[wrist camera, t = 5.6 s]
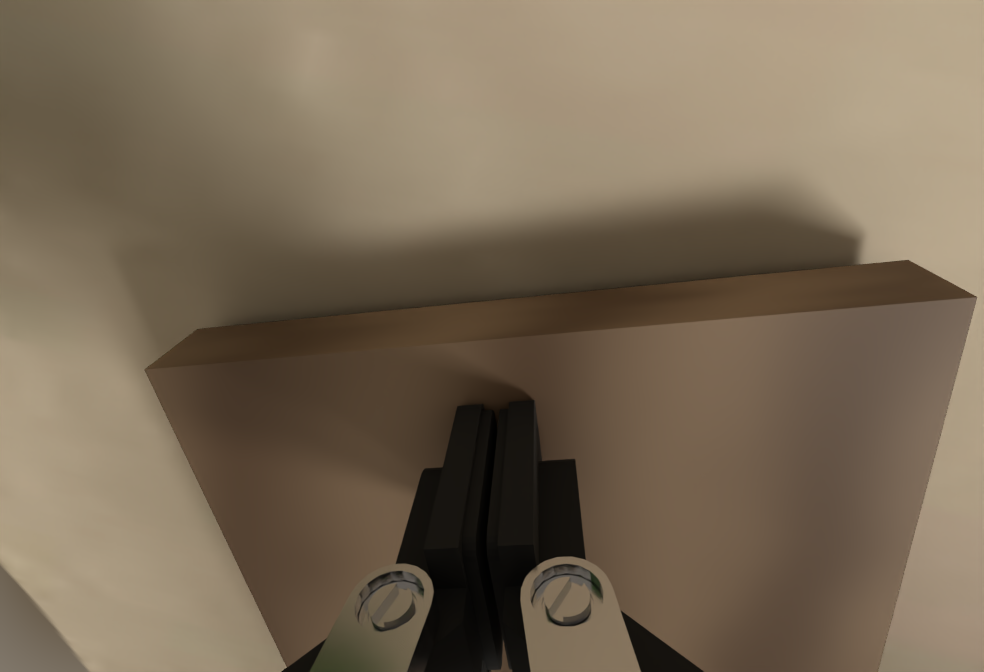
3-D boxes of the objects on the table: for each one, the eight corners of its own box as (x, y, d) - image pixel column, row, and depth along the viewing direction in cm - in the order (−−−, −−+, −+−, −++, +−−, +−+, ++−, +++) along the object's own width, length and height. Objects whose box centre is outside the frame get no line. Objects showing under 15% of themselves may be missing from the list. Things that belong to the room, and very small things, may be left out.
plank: (907, 260, 11) (976, 297, 9) (824, 681, 17) (856, 752, 15) (197, 329, 13) (144, 369, 12) (343, 680, 19) (323, 743, 18)
